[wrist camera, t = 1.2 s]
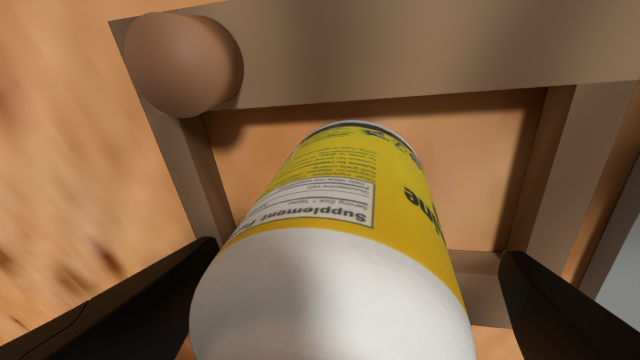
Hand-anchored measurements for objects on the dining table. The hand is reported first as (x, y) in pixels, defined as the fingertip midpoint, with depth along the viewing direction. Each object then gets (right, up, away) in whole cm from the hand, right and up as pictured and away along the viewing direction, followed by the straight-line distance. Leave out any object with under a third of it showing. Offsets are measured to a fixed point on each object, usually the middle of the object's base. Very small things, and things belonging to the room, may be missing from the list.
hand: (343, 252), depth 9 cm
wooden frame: (+1, +2, +4) cm, 5 cm away
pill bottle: (+1, +2, +4) cm, 5 cm away
